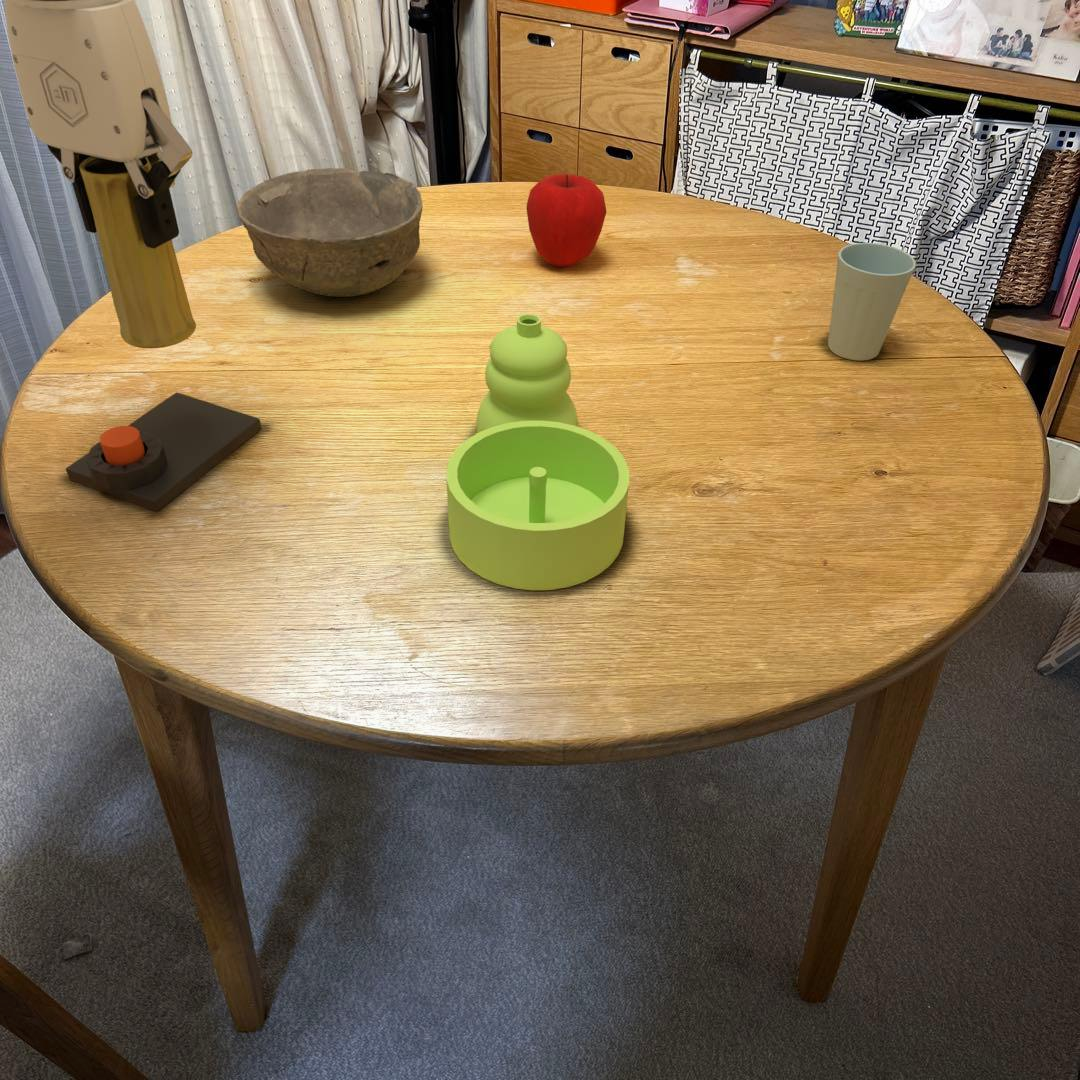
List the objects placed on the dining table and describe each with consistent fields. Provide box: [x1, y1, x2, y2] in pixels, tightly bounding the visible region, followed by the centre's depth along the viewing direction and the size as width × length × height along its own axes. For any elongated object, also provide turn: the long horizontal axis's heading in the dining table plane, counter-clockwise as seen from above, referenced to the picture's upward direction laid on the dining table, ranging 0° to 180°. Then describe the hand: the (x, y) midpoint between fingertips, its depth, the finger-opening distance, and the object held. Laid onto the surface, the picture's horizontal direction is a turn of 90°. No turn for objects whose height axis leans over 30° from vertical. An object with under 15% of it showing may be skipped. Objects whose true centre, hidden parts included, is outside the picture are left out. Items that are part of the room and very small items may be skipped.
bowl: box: [236, 167, 424, 298], centre depth 111 cm, size 21×21×10 cm
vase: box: [80, 156, 197, 349], centre depth 77 cm, size 6×6×14 cm
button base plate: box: [65, 392, 262, 513], centre depth 86 cm, size 15×10×3 cm
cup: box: [827, 242, 917, 362], centre depth 102 cm, size 8×8×10 cm
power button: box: [99, 425, 145, 465], centre depth 82 cm, size 3×3×2 cm
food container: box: [445, 313, 631, 591], centre depth 80 cm, size 25×15×13 cm, turn 4°
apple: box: [526, 173, 608, 268], centre depth 116 cm, size 10×10×11 cm
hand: (132, 231), depth 76 cm, fingers closed on vase, 5 cm apart
